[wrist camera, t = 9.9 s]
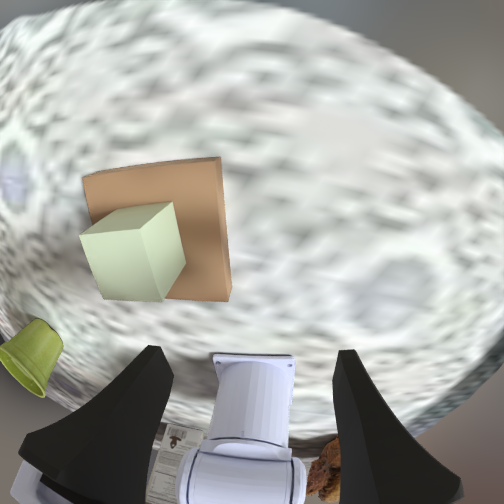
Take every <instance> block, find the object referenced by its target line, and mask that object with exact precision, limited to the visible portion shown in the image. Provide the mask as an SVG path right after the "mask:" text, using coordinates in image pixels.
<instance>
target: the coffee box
mask: <svg viewBox="0 0 504 504" xmlns="http://www.w3.org/2000/svg"><path fill="white" fill-rule="evenodd" d="M202 439H204V434H203V431H202V430H197V429H192V428H187V427H182V426H178V425H174V424H169V423H168V424H167V427H166V430H165V433H164V436H163V439H162V442H161V445H160V449H159V452H158V455H157V458H156V461H155V464H154V467H153V470H152V473H151V476H150V479H149V483H148V486H147V489H146V496H145V504H177V499H176V495H175V483H176V476H177V472H178V468H179V465H180V462H181V460H182V458H183V456H184V454H185V453H186V452H188V451H189V450H191V449H192V448H193V447H198V448H200V446H201V442H202Z"/></svg>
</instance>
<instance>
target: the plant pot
mask: <svg viewBox="0 0 504 504" xmlns="http://www.w3.org/2000/svg"><path fill="white" fill-rule="evenodd" d="M62 349H63V343H62V341H61V339H60V337H59V335H58V334H57V333H56V332H55V331H53V330H52V329H51V328H50V327H49V325H48V324H47V323H46V322H45V321H43V320H41V319H34V320H33V321H32V322H31V323H30V324H28V325H27V326H26V327H25V328H24V329H22V330H21V331H20V332H19V333H18V334H17V335H15V336H14V337H13V338H12V339H11V340H9V341H8V342H5V343H4V344H2V345H1V346H0V360H1V362H2V363H3V365H4V366H5V367H6V369H7V370H8V371H9V372H10V373H11V374H12V376H14V378H15V379H17V381H19V382H20V383H21V384H22V385H23V386H24V387H25V388H27V389H28V390H29V391H31V392H32V393H34V394H35V395H37V396H39V397H42V398H44V397H45V395H46V393H45V390H46V387H47V381H48V379H49V376H50V374H51V372H52V370H53V368H54V366H55V364H56V362H57V360H58V358H59V356H60V354H61V352H62Z"/></svg>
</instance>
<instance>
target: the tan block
mask: <svg viewBox="0 0 504 504" xmlns="http://www.w3.org/2000/svg"><path fill="white" fill-rule="evenodd" d="M82 179H83V184H84V189H85V194H86V199H87V203H88V208H89V212H90V216H91V220H92V224H93V225H94V224H96V223H97V222H98V221H100V220H101V219H103V218H104V217H106V216H107V215H109V214H110V213H112V212H113V211H115V210H116V209H120V208H127V207H134V206H141V205H148V204H156V203H164V202H172V201H173V206H174V211H175V216H176V220H177V225H178V230H179V234H180V239H181V243H182V247H183V252H184V256H185V260H186V264H185V266H184V268H183V269H182V271H181V272H180V274H179V276H178V277H177V279H176V280H175V282H174V284H173V285H172V287H171V289H170V290H169V292H168V294H167V295H166V297H165V298H166V299H180V300H195V301H214V302H228V300H229V297H230V293H231V290H232V281H231V271H230V260H229V250H228V239H227V227H226V216H225V204H224V191H223V178H222V165H221V157H209V158H196V159H184V160H174V161H165V162H156V163H149V164H141V165H134V166H127V167H121V168H115V169H109V170H103V171H98V172H95V173H93V174H90V175H88V176H86V177H83V178H82Z"/></svg>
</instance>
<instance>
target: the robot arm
mask: <svg viewBox="0 0 504 504" xmlns="http://www.w3.org/2000/svg"><path fill="white" fill-rule="evenodd" d="M213 363H214V366H215V370H216V374H217V377H218V381H219V388H218V392H217V397H216V401H215V406H214V410H213V414H212V419H211V423H210V428H209V432H208V436H207V440H205V439H202V442H201V446H200V448H198V447H193V448H192V449H191V450H189V451H188V452H186V453H185V454H184V456H183V458H182V460H181V462H180V465H179V468H178V472H177V476H176V483H175V495H176V499H177V504H304V500H305V494H306V470H305V466H304V464H303V463H302V462H301V461H300V460H299V458H295V457H292V458H291V453H292V449H291V448H288V435H289V406H291V405H292V396H293V385H294V372H295V358H294V357H292V356H246V355H226V354H215V355H213ZM173 378H174V374H173V372H172V370H171V368H170V366H169V364H168V362H167V360H166V357H165V355H164V353H163V351H162V349H161V346H152V345H148V346H147V347H146V348H145V349H144V350H143V351H142V352H141V353H140V354H139V355H138V356H137V357H136V358H135V359H134V360H133V361H132V362H131V363H130V364H129V365H128V366H127V367H126V368H125V369H124V370H123V371H122V372H121V373H120V374H119V375H118V376H117V377H116V378H115V379H114V380H113V381H112V382H111V383H110V384H109V385H108V386H106V387H105V388H104V389H103V390H102V391H101V392H100V393H99V394H98V395H96V396H95V397H94V398H93V399H91V400H90V401H89V402H87V403H86V404H85V405H83V406H82V407H81V408H79V409H78V410H76V411H74V412H73V413H71V414H70V415H68V416H66V417H65V418H63V419H61V420H59V421H58V422H56V423H53V424H52V425H49V426H47V427H45V428H42V429H40V430H37V431H34V432H31V433H28V434H27V435H26V437H25V439H24V441H23V443H22V445H21V447H20V449H19V452H18V453H19V455H20V456H21V457H22V458H23V459H25V460H26V461H27V462H28V463H27V462H26V461H23V462H22V464H21V467H20V469H19V471H18V474H17V476H16V479H15V481H14V483H13V486H12V489H11V491H10V494H11V495H12V496H13V497H14V498H15V499H16V500H17V501H18V502H19V503H20V504H145V496H146V482H147V473H148V466H149V460H150V455H151V451H152V446H153V442H154V438H155V435H156V432H157V429H158V427H159V424H160V421H161V418H162V415H163V413H164V410H165V407H166V404H167V402H168V399H169V396H170V392H171V387H172V382H173ZM332 384H333V403H334V410H335V416H336V423H337V430H338V437H339V444H340V455H341V478H340V499H339V504H454V503H456V502H458V501H460V500H462V499H463V498H464V491H463V485H462V482H461V478H460V477H459V476H457V475H456V474H454V473H453V472H451V471H450V470H449V469H447V468H446V467H445V466H443V465H442V464H441V463H440V462H439V461H437V460H436V459H435V458H434V457H433V456H432V455H430V454H429V453H428V452H427V451H426V450H425V449H424V448H423V447H422V446H421V445H420V444H419V443H418V442H417V441H416V440H415V439H414V438H413V436H412V435H411V434H410V433H409V432H408V431H407V430H406V428H405V427H404V426H403V425H402V424H401V422H400V421H399V420H398V419H397V417H396V416H395V415H394V413H393V412H392V411H391V409H390V408H389V406H388V405H387V403H386V402H385V400H384V399H383V397H382V396H381V394H380V393H379V391H378V390H377V388H376V386H375V385H374V383H373V382H372V380H371V378H370V376H369V375H368V373H367V371H366V369H365V367H364V366H363V364H362V362H361V360H360V358H359V356H358V354H357V352H356V351H355V350H354V349H352V350H339V352H338V357H337V362H336V366H335V371H334V375H333V380H332ZM29 463H30V464H31V465H30V464H29ZM33 466H34V467H33ZM37 469H38V470H37Z"/></svg>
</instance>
